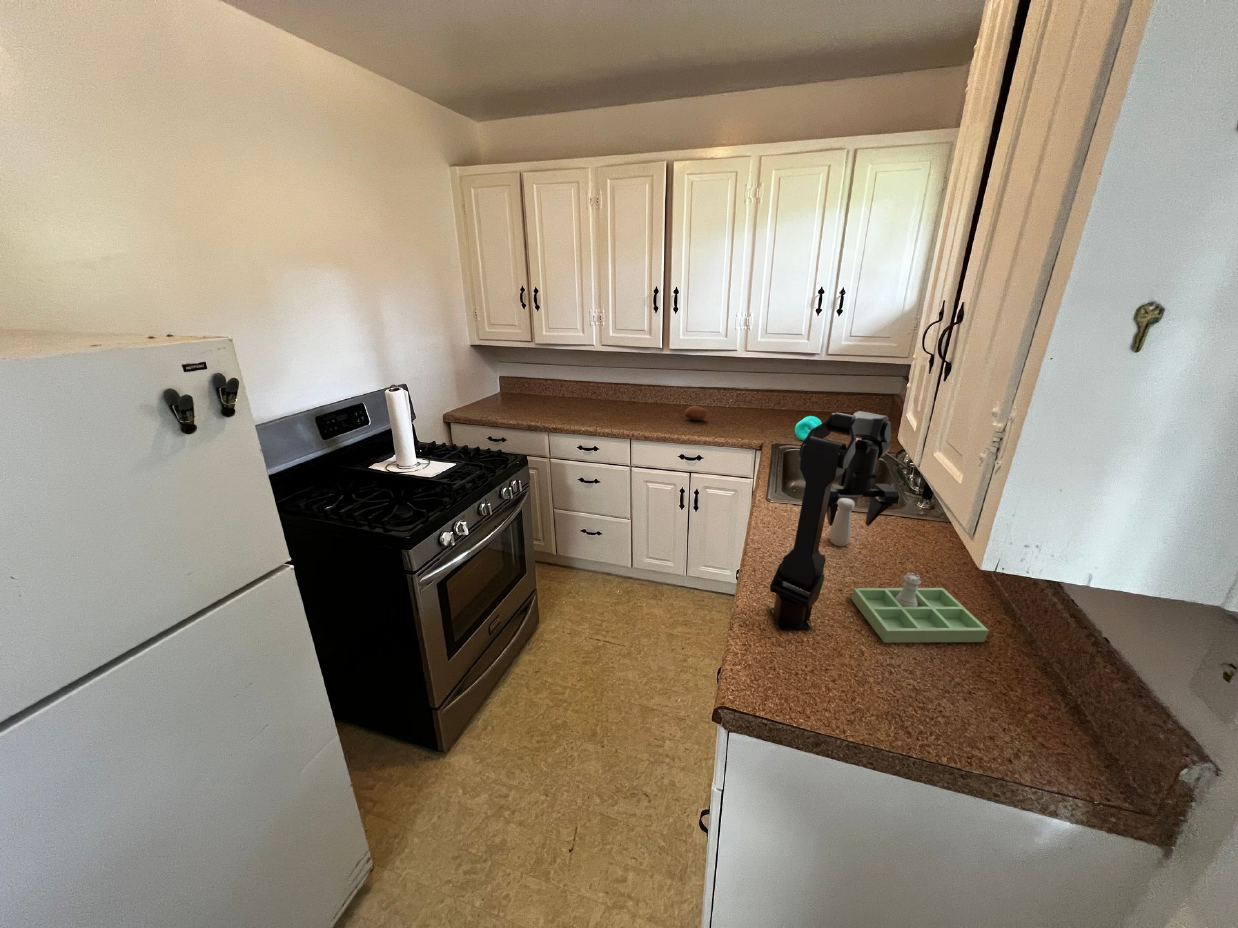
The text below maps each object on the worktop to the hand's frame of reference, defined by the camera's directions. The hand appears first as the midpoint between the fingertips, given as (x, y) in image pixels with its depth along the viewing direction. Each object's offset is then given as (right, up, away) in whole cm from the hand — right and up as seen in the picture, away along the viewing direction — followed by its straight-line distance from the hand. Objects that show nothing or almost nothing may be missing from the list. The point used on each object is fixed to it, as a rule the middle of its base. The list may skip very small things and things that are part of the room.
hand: (848, 525), depth 117 cm
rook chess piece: (+7, -17, -11) cm, 21 cm away
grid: (+7, -19, -14) cm, 24 cm away
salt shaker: (+5, -7, +16) cm, 18 cm away
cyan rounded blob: (+30, +26, +101) cm, 109 cm away
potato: (-17, +37, +127) cm, 134 cm away
